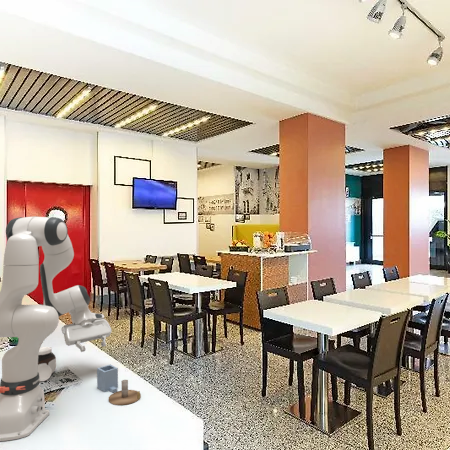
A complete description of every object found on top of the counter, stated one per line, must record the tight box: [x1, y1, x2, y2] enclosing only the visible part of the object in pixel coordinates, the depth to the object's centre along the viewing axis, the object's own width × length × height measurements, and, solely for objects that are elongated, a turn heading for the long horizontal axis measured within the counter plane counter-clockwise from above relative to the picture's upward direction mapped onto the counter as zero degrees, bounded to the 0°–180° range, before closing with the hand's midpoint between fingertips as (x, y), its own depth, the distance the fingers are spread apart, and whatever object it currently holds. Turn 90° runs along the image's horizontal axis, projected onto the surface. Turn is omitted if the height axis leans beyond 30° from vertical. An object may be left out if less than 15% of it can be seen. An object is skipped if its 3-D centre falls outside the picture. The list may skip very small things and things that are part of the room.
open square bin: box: [96, 364, 119, 394], centre depth 156 cm, size 9×6×8 cm, turn 45°
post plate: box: [108, 379, 142, 406], centre depth 148 cm, size 12×12×7 cm
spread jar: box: [38, 346, 57, 382], centre depth 169 cm, size 12×11×12 cm
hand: (94, 348), depth 165 cm, fingers open, 8 cm apart
